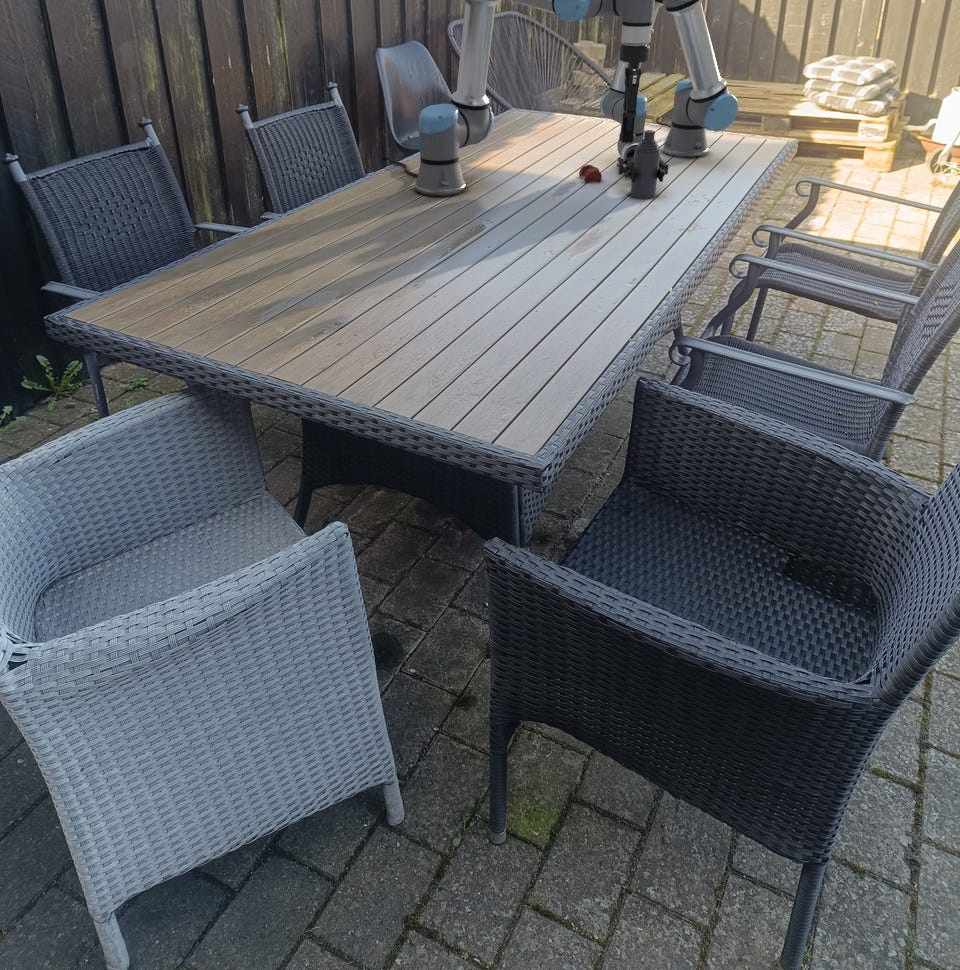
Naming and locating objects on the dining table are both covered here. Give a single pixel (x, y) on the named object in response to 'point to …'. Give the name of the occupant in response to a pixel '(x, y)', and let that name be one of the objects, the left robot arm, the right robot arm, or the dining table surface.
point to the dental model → (590, 173)
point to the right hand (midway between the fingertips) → (648, 177)
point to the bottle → (646, 167)
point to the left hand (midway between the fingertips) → (626, 139)
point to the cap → (622, 136)
